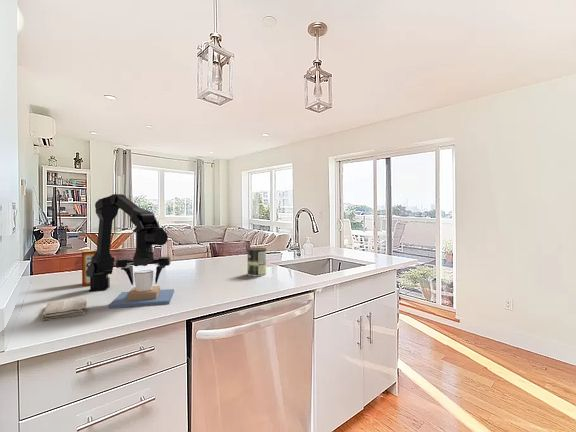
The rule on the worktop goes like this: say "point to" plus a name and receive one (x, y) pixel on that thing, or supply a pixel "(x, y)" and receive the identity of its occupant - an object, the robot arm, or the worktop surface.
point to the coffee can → (256, 261)
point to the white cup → (143, 280)
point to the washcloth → (65, 309)
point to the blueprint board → (147, 302)
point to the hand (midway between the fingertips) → (144, 284)
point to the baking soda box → (86, 265)
